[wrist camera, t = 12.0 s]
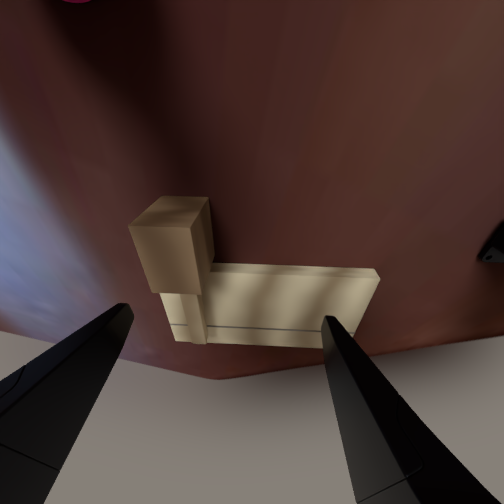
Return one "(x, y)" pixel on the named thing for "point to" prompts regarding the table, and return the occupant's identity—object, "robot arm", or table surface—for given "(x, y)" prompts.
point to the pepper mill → (77, 1)
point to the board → (276, 303)
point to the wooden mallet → (178, 253)
